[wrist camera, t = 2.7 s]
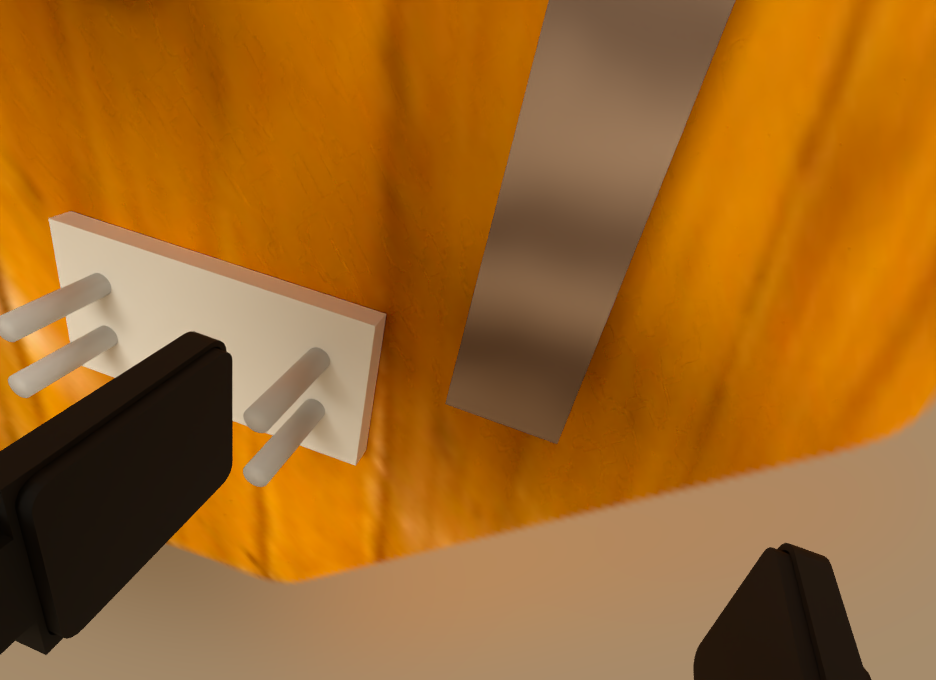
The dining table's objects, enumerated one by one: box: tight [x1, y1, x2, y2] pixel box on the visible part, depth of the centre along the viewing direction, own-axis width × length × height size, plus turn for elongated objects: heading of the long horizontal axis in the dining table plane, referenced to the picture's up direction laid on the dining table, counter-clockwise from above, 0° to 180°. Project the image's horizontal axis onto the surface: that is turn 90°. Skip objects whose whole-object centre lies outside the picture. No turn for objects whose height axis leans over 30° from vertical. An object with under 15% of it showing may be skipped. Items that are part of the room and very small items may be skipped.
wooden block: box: [445, 0, 735, 444], centre depth 25 cm, size 20×6×5 cm, turn 167°
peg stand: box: [0, 211, 386, 487], centre depth 33 cm, size 20×10×8 cm, turn 78°
